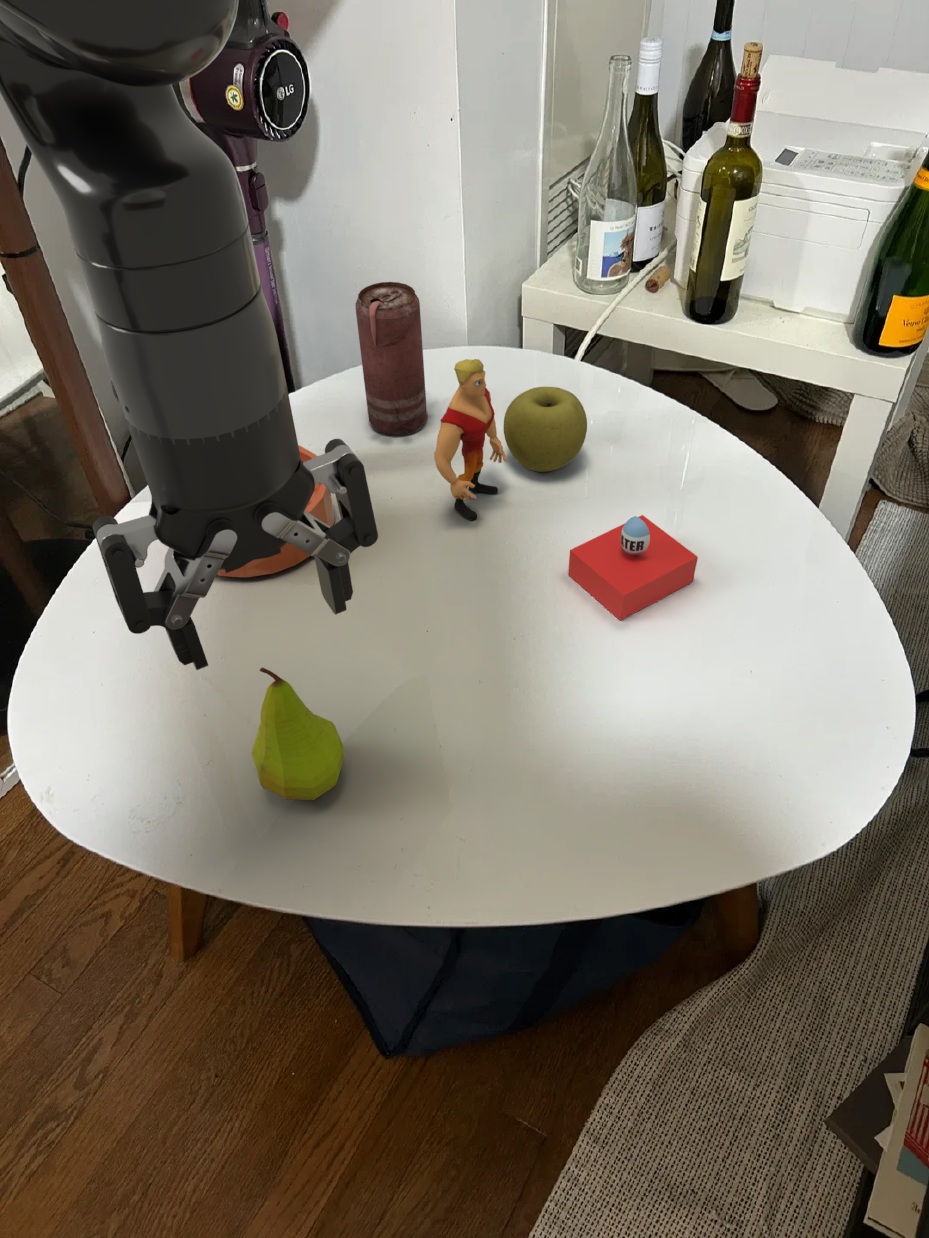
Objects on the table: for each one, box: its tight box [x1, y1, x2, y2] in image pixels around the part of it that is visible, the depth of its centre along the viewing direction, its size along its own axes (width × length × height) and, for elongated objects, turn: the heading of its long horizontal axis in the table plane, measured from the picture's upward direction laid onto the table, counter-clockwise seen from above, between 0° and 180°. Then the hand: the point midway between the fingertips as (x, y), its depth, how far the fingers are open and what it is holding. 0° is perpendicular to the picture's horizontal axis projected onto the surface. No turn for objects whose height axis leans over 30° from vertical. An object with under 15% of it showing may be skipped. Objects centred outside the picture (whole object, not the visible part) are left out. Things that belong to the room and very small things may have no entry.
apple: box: [503, 386, 588, 473], centre depth 88 cm, size 8×8×7 cm
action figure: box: [433, 358, 508, 521], centre depth 81 cm, size 10×4×15 cm, turn 152°
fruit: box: [251, 666, 345, 801], centre depth 60 cm, size 6×6×12 cm
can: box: [354, 281, 428, 437], centre depth 91 cm, size 6×6×14 cm
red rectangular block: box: [567, 514, 699, 621], centre depth 76 cm, size 8×7×6 cm
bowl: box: [216, 444, 336, 578], centre depth 83 cm, size 14×14×5 cm
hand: (268, 631), depth 54 cm, fingers open, 8 cm apart
